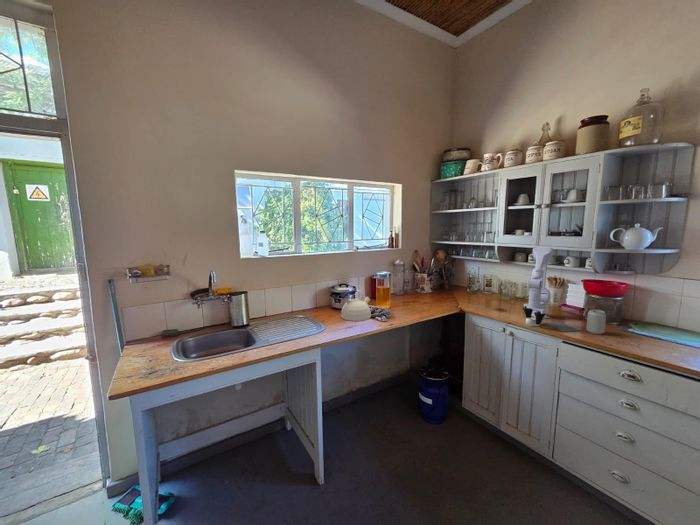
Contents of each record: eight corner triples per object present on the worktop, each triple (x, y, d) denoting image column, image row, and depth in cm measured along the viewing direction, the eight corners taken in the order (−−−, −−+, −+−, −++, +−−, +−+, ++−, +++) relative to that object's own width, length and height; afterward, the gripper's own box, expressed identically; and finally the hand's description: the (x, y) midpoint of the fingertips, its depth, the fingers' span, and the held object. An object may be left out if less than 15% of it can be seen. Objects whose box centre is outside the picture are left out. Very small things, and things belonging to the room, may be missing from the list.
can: (584, 328, 158) (586, 308, 157) (602, 331, 154) (604, 309, 153) (587, 333, 152) (589, 311, 150) (606, 335, 148) (608, 313, 146)
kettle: (376, 318, 185) (376, 291, 182) (347, 323, 177) (346, 294, 175) (364, 310, 203) (363, 285, 201) (336, 314, 196) (335, 288, 194)
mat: (543, 323, 168) (543, 322, 168) (558, 322, 169) (559, 321, 169) (563, 331, 154) (563, 331, 154) (579, 330, 155) (580, 330, 155)
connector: (528, 326, 164) (528, 319, 163) (524, 324, 167) (524, 318, 166) (543, 325, 164) (543, 319, 164) (538, 323, 168) (539, 317, 167)
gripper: (519, 296, 171) (518, 318, 172) (537, 302, 156) (536, 326, 158) (530, 296, 171) (529, 318, 173) (549, 302, 157) (547, 326, 158)
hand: (533, 322), depth 165 cm, fingers open, 7 cm apart
